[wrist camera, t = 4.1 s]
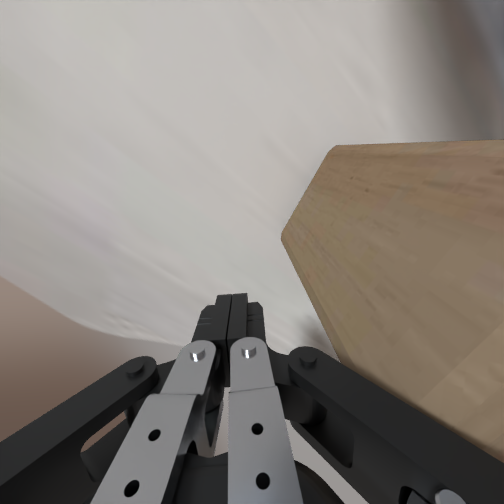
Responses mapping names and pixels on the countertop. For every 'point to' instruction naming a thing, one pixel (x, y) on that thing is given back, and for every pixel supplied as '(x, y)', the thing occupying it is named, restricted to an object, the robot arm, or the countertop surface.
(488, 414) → the wooden block
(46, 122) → the countertop surface
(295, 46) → the countertop surface
